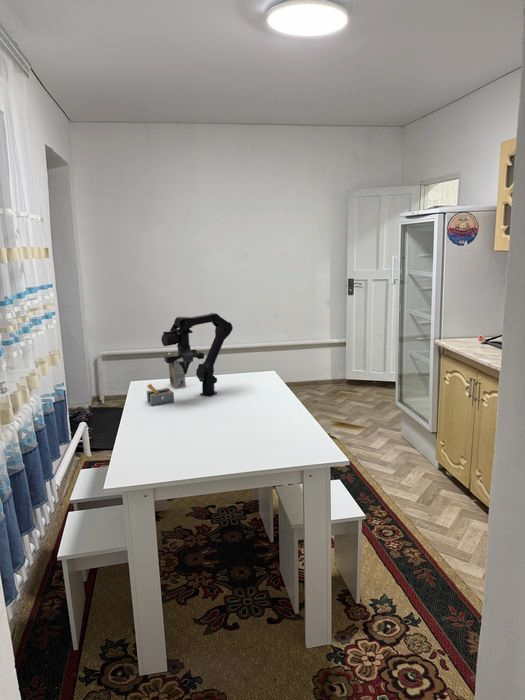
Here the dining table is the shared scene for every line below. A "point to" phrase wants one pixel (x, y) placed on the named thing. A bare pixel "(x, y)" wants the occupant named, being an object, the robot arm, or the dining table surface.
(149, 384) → the breaker handle
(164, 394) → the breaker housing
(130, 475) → the dining table surface
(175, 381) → the coffee box
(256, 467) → the dining table surface
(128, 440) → the dining table surface
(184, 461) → the dining table surface
